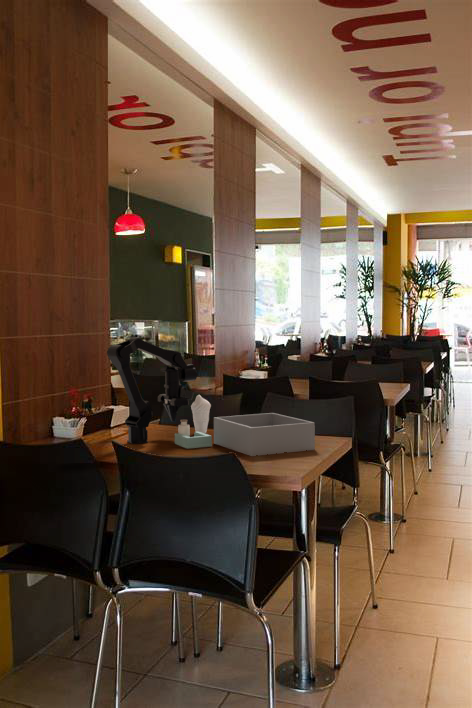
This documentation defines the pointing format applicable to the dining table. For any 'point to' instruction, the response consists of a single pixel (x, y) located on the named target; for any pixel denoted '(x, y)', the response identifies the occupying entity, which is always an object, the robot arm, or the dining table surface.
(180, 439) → the teal rectangular tray
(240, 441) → the frame
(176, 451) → the dining table surface
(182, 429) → the bottle
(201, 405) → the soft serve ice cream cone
